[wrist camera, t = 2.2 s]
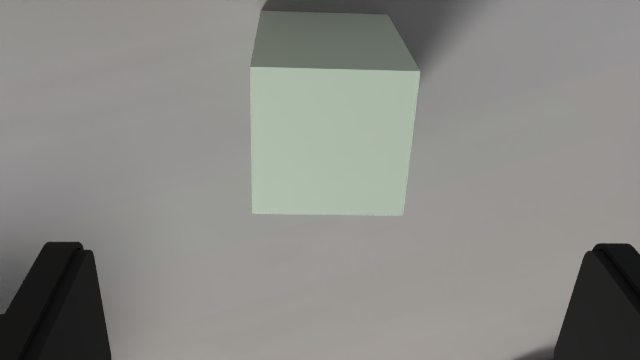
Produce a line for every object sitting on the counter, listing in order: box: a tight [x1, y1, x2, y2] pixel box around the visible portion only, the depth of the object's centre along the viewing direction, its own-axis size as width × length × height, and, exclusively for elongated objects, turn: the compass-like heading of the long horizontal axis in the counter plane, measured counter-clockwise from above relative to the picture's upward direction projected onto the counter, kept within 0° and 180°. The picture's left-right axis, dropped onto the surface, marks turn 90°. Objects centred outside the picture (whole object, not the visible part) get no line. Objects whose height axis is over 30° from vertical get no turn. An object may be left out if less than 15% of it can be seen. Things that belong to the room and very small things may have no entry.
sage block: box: [250, 11, 420, 216], centre depth 22 cm, size 5×5×7 cm
